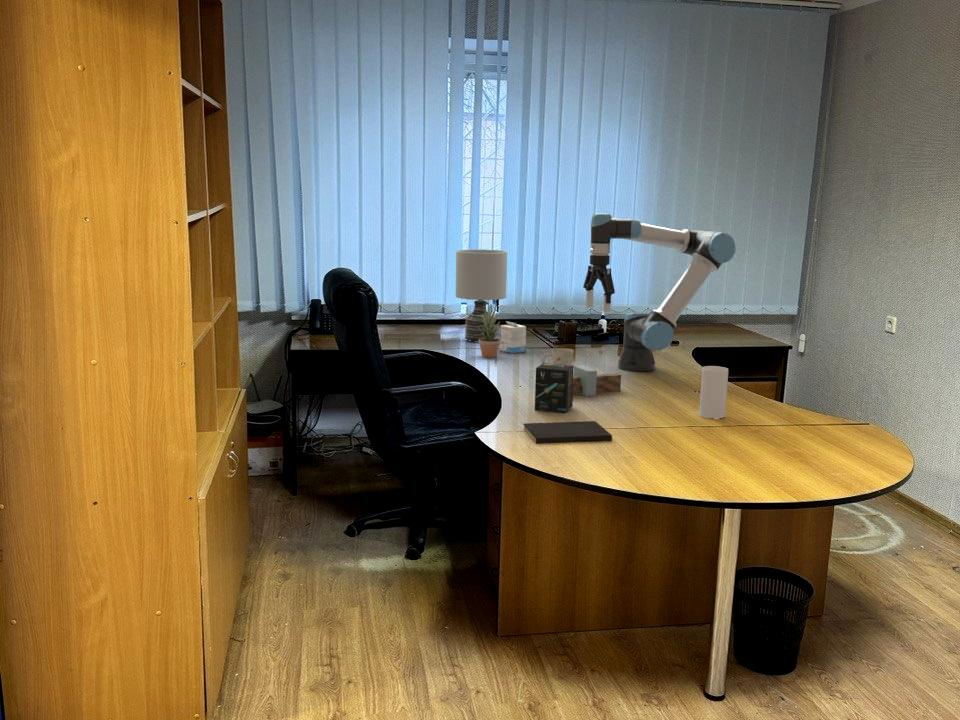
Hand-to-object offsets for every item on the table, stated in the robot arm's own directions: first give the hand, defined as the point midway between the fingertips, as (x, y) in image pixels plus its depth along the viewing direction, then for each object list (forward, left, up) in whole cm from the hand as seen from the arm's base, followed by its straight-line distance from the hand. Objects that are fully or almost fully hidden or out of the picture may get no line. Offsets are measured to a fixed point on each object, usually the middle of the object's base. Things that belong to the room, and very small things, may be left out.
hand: (597, 309), depth 343 cm
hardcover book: (+48, +71, -27) cm, 90 cm away
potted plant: (+25, -50, -27) cm, 62 cm away
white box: (+10, -58, -27) cm, 65 cm away
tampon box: (+38, +42, -27) cm, 62 cm away
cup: (-8, +66, -27) cm, 71 cm away
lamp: (+14, -89, -27) cm, 94 cm away
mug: (+13, -7, -27) cm, 31 cm away
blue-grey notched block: (+17, +24, -27) cm, 39 cm away
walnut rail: (+17, +24, -27) cm, 39 cm away
